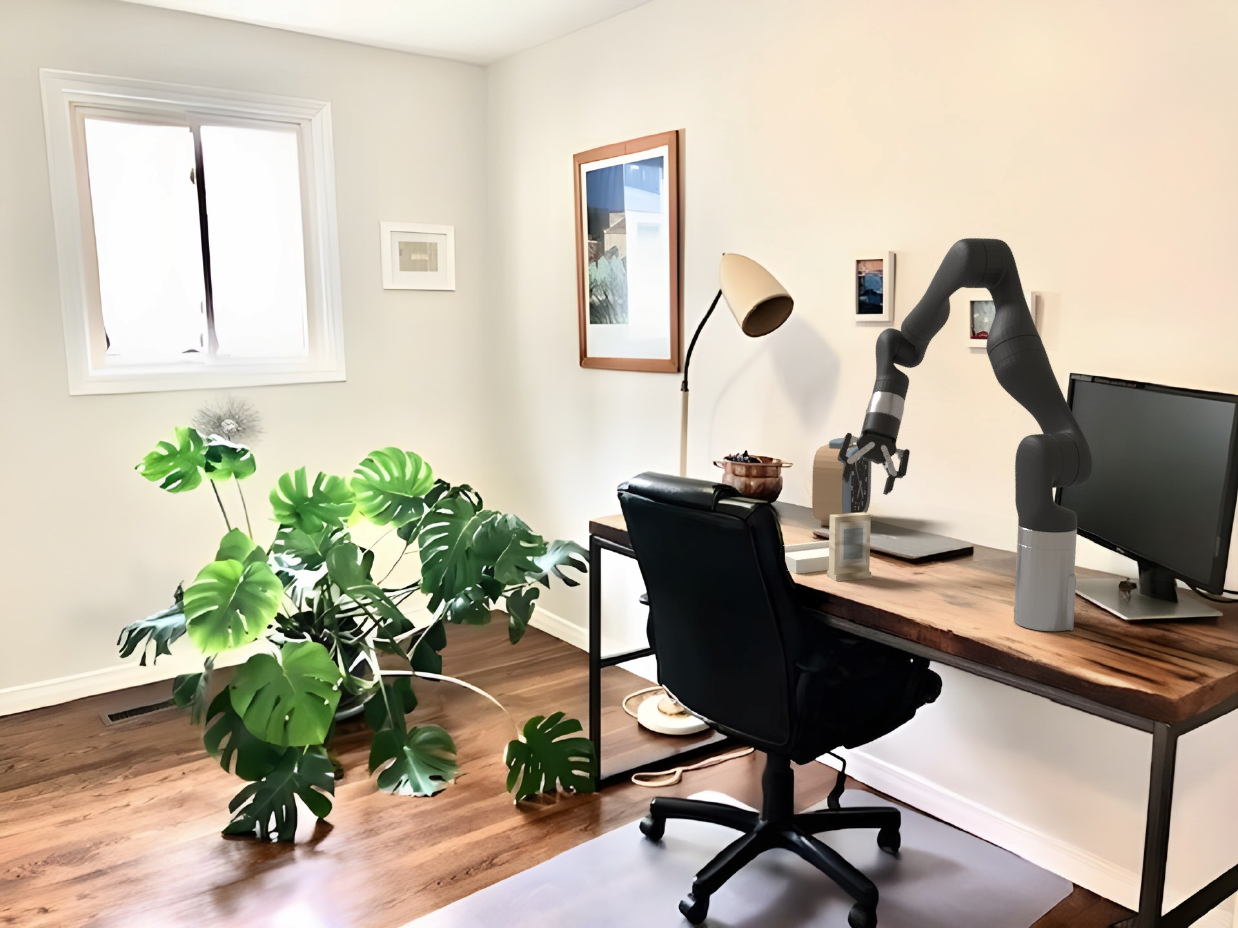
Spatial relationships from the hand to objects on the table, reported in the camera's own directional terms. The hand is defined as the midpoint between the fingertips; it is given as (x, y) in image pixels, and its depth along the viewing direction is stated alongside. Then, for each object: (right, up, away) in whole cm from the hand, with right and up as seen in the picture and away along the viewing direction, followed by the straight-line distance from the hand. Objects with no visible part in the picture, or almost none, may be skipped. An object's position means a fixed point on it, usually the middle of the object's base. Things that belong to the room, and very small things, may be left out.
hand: (865, 488), depth 202 cm
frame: (-4, -18, -3) cm, 19 cm away
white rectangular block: (-10, -17, +6) cm, 20 cm away
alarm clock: (+7, -10, +50) cm, 51 cm away
